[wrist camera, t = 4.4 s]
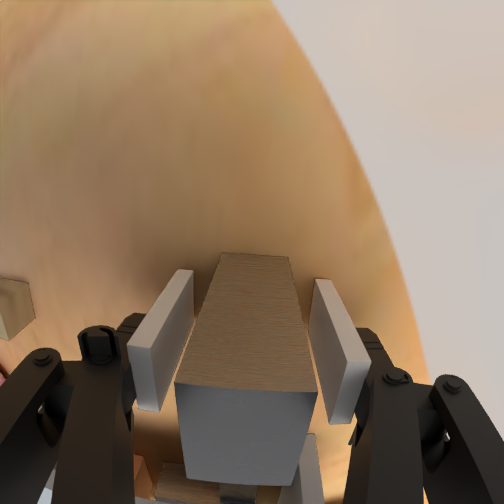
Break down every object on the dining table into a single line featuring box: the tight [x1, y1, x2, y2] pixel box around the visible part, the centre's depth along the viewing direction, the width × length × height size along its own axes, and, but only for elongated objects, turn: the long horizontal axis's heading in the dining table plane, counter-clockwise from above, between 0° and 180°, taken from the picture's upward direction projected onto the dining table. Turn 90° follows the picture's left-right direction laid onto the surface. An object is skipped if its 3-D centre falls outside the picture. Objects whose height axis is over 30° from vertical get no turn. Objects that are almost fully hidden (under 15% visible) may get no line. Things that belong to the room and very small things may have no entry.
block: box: [134, 455, 153, 499], centre depth 18 cm, size 5×5×5 cm
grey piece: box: [154, 253, 318, 504], centre depth 13 cm, size 19×7×9 cm, turn 176°
